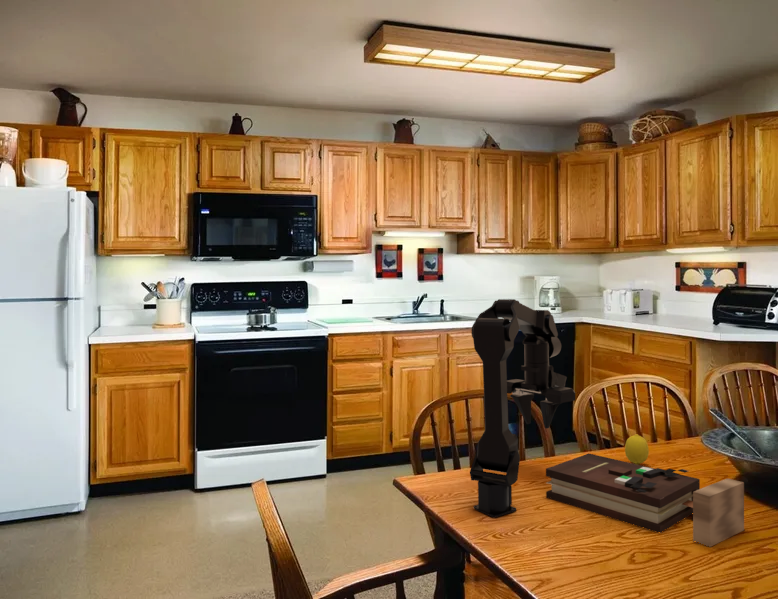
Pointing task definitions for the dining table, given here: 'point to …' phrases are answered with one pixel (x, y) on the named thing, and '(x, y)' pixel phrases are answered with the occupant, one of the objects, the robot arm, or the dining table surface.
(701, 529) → the bookend
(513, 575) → the dining table surface
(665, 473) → the decorative book
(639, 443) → the lemon
